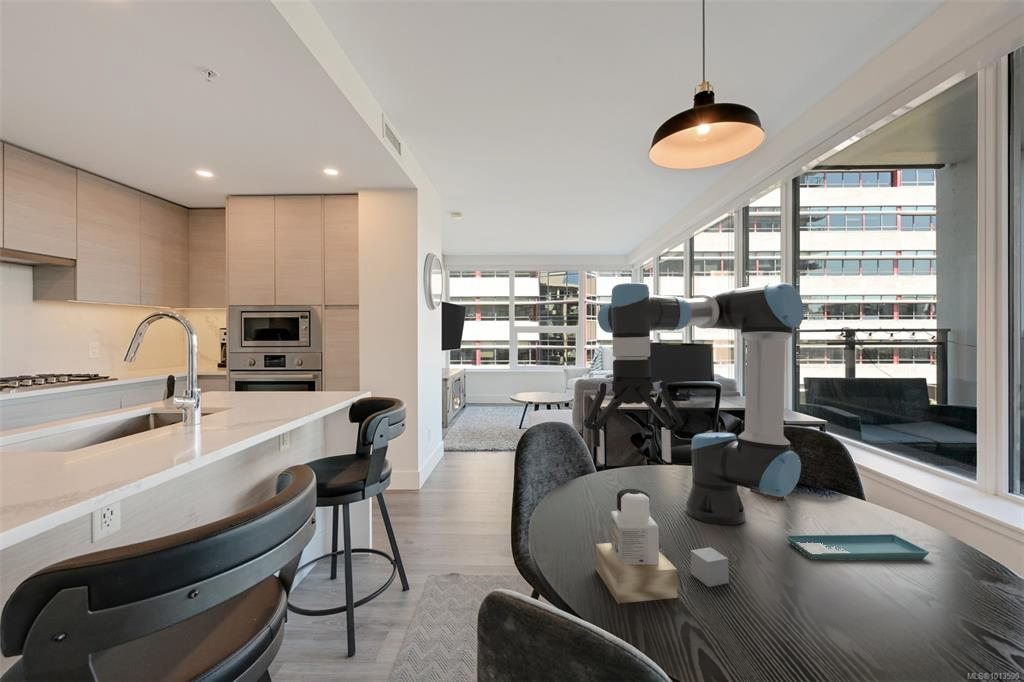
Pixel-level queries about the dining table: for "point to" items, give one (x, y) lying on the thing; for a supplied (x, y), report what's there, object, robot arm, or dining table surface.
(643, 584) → the maple block
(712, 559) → the slate cube
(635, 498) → the container
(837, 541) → the teal serving tray
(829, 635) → the dining table surface
